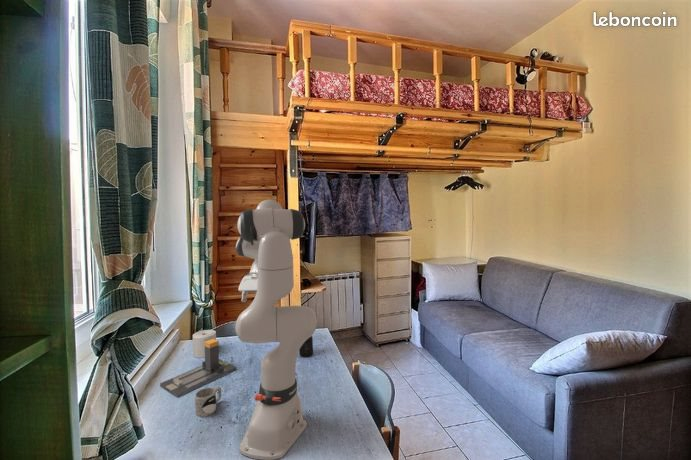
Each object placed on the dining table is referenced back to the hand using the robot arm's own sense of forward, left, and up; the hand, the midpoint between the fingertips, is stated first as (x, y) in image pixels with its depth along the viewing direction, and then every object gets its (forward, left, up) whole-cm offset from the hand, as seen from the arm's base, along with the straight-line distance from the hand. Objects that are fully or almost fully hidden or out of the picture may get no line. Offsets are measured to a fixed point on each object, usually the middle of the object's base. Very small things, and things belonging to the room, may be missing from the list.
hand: (249, 301), depth 139 cm
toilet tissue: (+9, +30, -31) cm, 44 cm away
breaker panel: (-12, +18, -30) cm, 37 cm away
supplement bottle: (+17, -20, -31) cm, 40 cm away
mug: (-30, 0, -31) cm, 43 cm away
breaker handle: (-6, +15, -29) cm, 33 cm away
